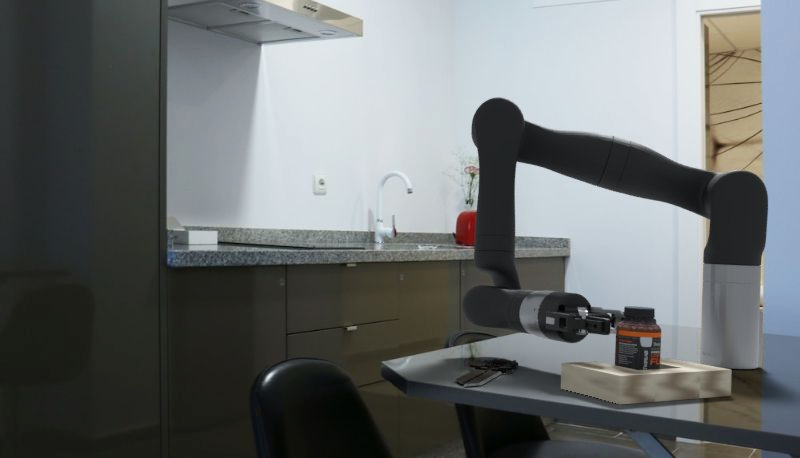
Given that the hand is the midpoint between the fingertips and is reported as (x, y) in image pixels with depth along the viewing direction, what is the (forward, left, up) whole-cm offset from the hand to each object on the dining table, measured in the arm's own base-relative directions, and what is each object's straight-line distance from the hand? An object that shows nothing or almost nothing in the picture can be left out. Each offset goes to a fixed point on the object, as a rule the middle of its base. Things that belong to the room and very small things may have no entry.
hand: (632, 326), depth 115 cm
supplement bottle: (0, +1, -9) cm, 9 cm away
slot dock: (0, +3, -8) cm, 9 cm away
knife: (+13, -15, -9) cm, 22 cm away
